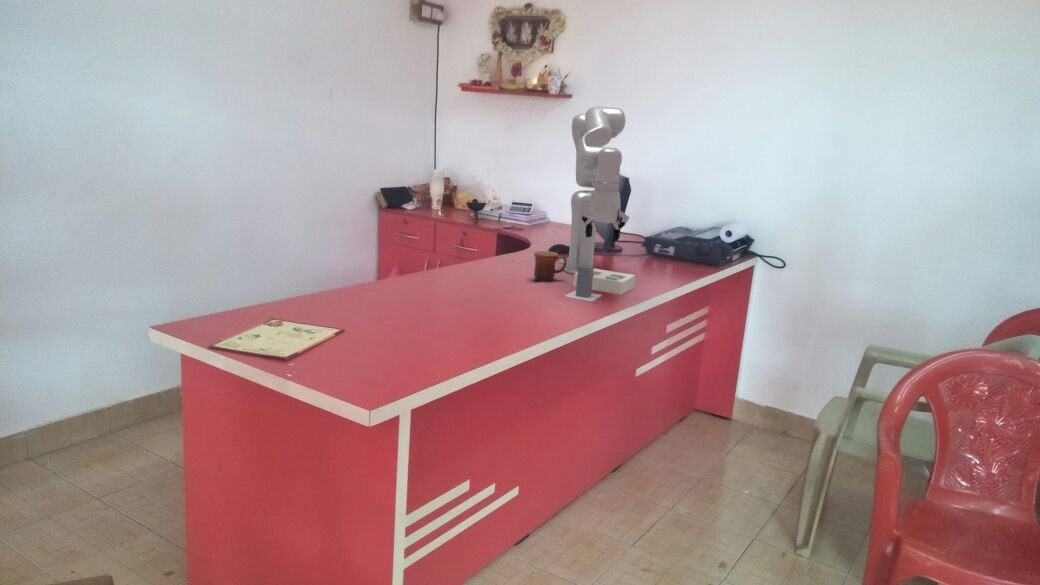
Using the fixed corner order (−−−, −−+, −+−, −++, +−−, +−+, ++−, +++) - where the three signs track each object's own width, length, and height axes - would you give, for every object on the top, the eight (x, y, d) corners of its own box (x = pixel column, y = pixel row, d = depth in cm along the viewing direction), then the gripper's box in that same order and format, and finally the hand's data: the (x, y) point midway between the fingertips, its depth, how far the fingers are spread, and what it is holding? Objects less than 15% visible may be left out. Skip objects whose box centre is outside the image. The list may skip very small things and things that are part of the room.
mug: (530, 282, 255) (532, 254, 253) (532, 277, 264) (534, 250, 261) (564, 285, 254) (566, 257, 252) (565, 280, 263) (567, 252, 260)
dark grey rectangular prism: (575, 295, 239) (578, 266, 236) (580, 293, 242) (582, 264, 240) (586, 297, 237) (589, 268, 234) (591, 295, 240) (593, 266, 238)
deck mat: (563, 297, 237) (563, 296, 237) (575, 291, 246) (575, 290, 246) (591, 303, 233) (591, 301, 233) (602, 296, 242) (602, 295, 242)
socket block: (572, 287, 252) (574, 271, 250) (587, 280, 264) (588, 265, 262) (621, 296, 244) (622, 280, 243) (633, 288, 256) (635, 273, 255)
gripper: (577, 185, 233) (573, 236, 237) (627, 190, 225) (621, 243, 229) (587, 184, 240) (583, 234, 244) (635, 189, 231) (630, 241, 235)
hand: (601, 238), depth 236 cm, fingers open, 9 cm apart
